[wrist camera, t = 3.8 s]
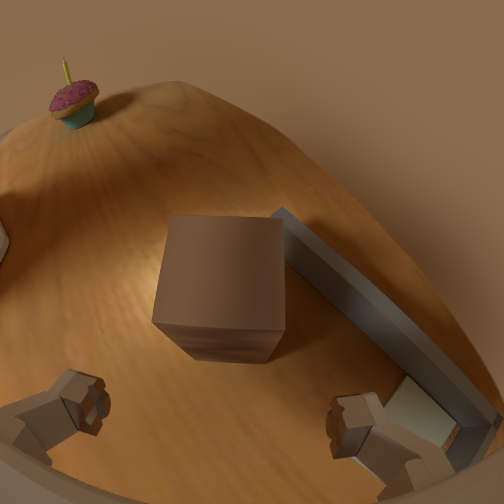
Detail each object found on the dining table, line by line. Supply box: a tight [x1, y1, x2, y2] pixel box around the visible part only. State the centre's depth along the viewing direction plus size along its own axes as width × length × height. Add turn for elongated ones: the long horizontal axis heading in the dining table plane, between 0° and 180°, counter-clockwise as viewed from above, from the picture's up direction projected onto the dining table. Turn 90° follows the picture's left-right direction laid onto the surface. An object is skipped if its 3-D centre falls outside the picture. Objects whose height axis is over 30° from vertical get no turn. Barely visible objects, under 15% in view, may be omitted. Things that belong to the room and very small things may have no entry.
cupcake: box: [49, 57, 99, 129], centre depth 29 cm, size 9×8×12 cm
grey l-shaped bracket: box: [271, 207, 503, 481], centre depth 14 cm, size 26×20×4 cm
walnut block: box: [152, 215, 286, 364], centre depth 15 cm, size 5×5×10 cm
